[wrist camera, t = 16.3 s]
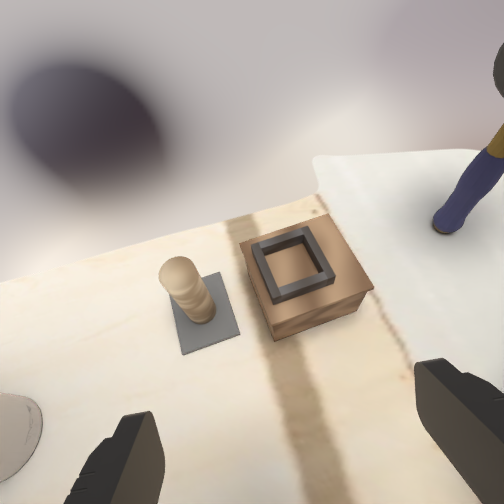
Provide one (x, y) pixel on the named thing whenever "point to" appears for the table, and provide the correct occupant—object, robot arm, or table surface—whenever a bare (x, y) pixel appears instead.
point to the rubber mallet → (476, 172)
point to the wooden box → (304, 276)
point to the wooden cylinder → (187, 289)
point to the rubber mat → (213, 331)
